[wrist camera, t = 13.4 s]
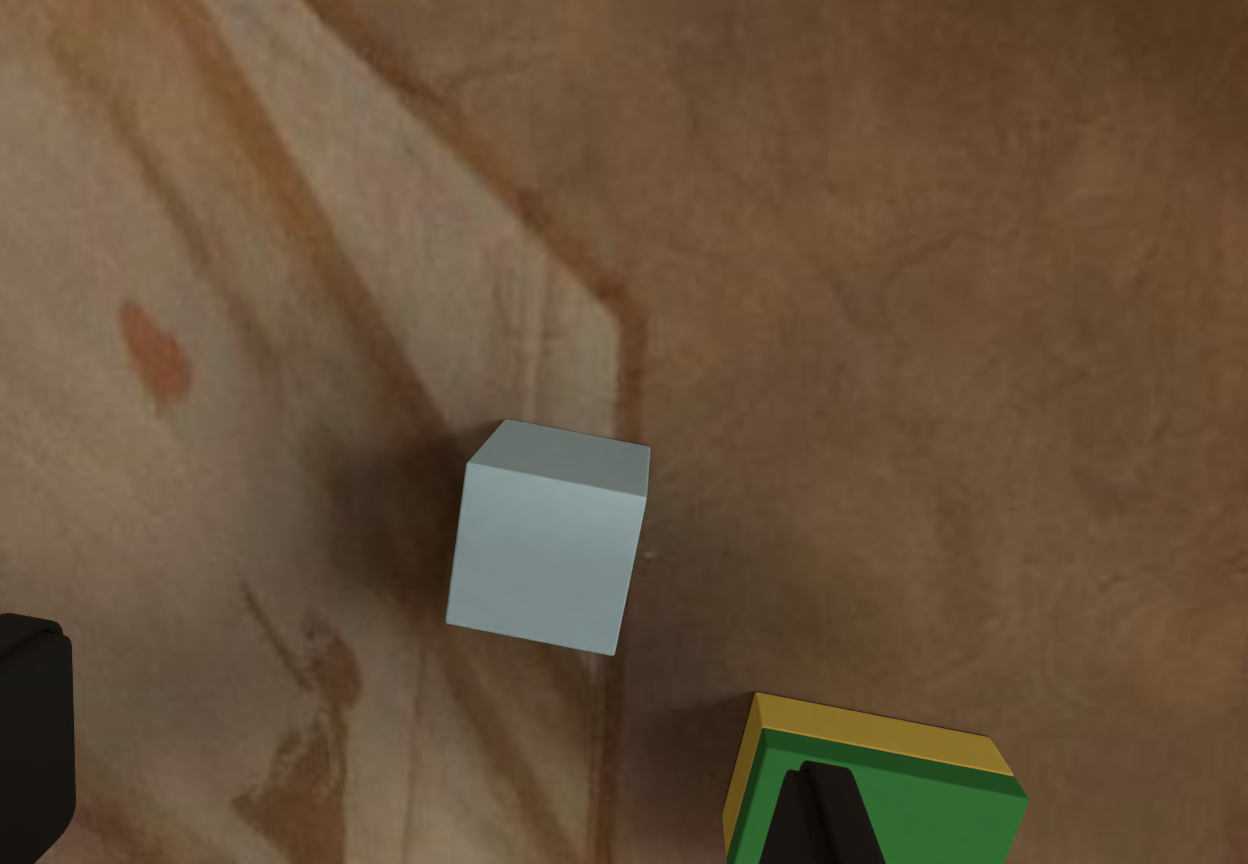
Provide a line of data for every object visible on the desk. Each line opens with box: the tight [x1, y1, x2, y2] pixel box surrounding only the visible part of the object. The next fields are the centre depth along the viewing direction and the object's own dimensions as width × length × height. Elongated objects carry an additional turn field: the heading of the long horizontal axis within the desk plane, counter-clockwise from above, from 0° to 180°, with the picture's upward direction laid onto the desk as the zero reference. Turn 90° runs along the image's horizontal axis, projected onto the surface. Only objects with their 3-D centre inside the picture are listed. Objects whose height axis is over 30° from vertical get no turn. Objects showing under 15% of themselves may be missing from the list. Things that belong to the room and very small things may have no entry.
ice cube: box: [445, 419, 650, 656], centre depth 18 cm, size 4×4×4 cm
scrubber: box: [722, 692, 1029, 864], centre depth 21 cm, size 7×4×2 cm, turn 79°
